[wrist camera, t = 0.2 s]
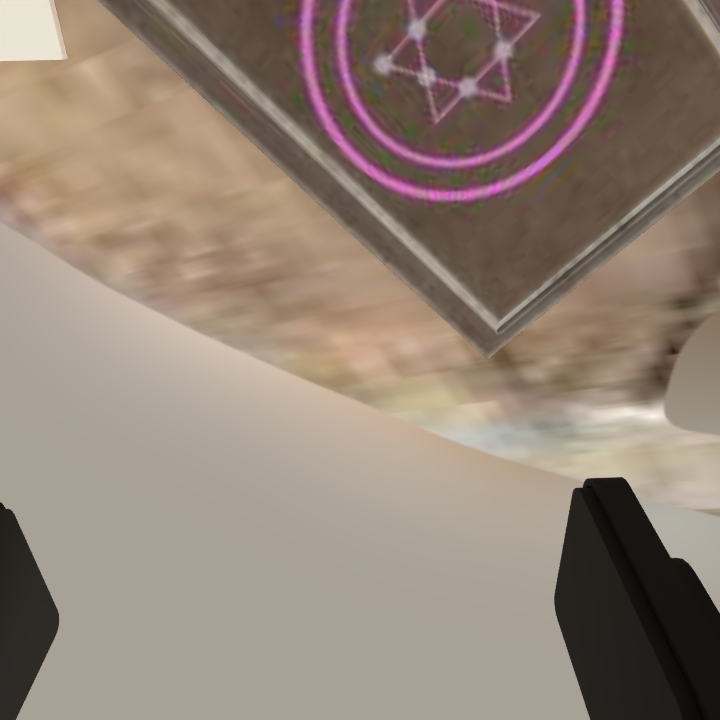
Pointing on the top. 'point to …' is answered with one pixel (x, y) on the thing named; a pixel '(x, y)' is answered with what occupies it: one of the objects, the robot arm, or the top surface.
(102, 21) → the top surface
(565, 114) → the book
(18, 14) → the mat
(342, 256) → the top surface
